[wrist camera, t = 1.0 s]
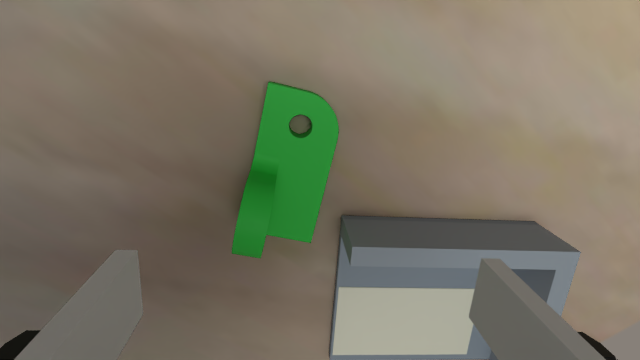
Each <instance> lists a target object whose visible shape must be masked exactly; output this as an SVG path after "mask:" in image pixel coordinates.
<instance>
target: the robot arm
mask: <svg viewBox="0 0 640 360" xmlns="http://www.w3.org/2000/svg"><path fill="white" fill-rule="evenodd" d="M142 315H143V305H142V294H141V282H140V271H139V260H138V250H115V251H114V252H113V253H112V254H111V255H110V256H109V257H108V259H107V260H106V261H105V262H104V263H103V264H102V265H101V266H100V267H99V268H98V269H97V270H96V272H95V273H94V274H93V275H92V276H91V277H90V278H89V279H88V280H87V281H86V282H85V283H84V284H83V286H82V287H81V288H80V289H79V290H78V291H77V292H76V293H75V294H74V295H73V296H72V297H71V299H70V300H69V301H68V302H67V303H66V304H65V305H64V306H63V307H62V308H61V309H60V310H59V312H58V313H57V314H56V315H55V316H54V317H53V318H52V319H51V320H50V321H49V322H48V323H47V324H46V326H45V327H44V328H43V329H42V330H41V331H29V330H26V331H25V332H23V333H21V334H20V335H18V336H17V337H15V338H13V339H12V340H10V341H9V342H7V343H5V344H4V345H3V346H2V347H1V348H0V360H117V358H118V357H119V355H120V353H121V351H122V350H123V348H124V346H125V345H126V343H127V341H128V339H129V338H130V336H131V334H132V333H133V331H134V329H135V327H136V326H137V324H138V322H139V320H140V319H141V317H142ZM469 318H470V320H471V321H472V323H473V324H474V325H475V327H476V328H477V330H478V331H479V333H480V334H481V336H482V337H483V338H484V340H485V341H486V343H487V344H488V346H489V347H490V349H491V350H492V351H493V353H494V354H495V356H496V357H497V359H498V360H616V358H615V356H614V355H613V354H612V353H611V352H609V351H608V350H607V349H606V348H605V347H604V346H603V345H602V344H601V343H599V342H597V341H596V340H594V339H593V338H591V337H589V336H588V335H586V334H585V333H583V332H576V331H575V330H574V329H573V328H572V327H571V326H570V325H569V324H568V323H567V322H566V321H565V320H564V319H563V318H562V317H561V316H559V315H558V314H557V313H556V312H555V311H554V310H553V309H552V308H551V307H550V306H549V305H548V304H547V303H546V302H545V301H544V300H543V299H542V298H541V297H540V296H538V295H537V294H536V293H535V292H534V291H533V290H532V289H531V288H530V287H529V286H528V285H527V284H526V283H525V282H524V281H523V280H522V279H521V278H520V277H519V276H517V275H516V274H515V273H514V272H513V271H512V270H511V269H510V268H509V267H508V266H507V265H506V264H505V263H504V262H503V261H502V260H501V259H491V258H481V263H480V267H479V272H478V276H477V281H476V285H475V290H474V294H473V299H472V303H471V308H470V312H469Z"/></svg>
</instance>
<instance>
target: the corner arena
mask: <svg viewBox="0 0 640 360" xmlns="http://www.w3.org/2000/svg"><path fill="white" fill-rule="evenodd" d="M580 253H581V252H580V251H578V250H577V249H575V248H574V247H572V246H571V245H569V244H568V243H566V242H565V241H563V240H562V239H560V238H559V237H557V236H556V235H554V234H553V233H551V232H550V231H548V230H546V229H545V228H543V227H542V226H540V225H539V224H537V223H536V222H534V221H505V220H472V219H440V218H408V217H376V216H344V215H342V217H341V228H340V239H339V250H338V261H337V272H336V283H335V294H334V304H333V315H332V326H331V337H330V348H329V358H330V360H422V359H489V360H498V359H497V357H496V356H495V354H494V353H493V351H492V350H491V349H490V347H489V346H488V344H487V343H486V341H485V340H484V338H483V337H482V336H481V334H480V333H479V331H478V330H477V328H476V327H475V325H474V324H473V323H472V321H471V320H470V318H469V312H470V308H471V303H472V299H473V294H474V290H475V285H476V281H477V276H478V272H479V267H480V263H481V258H491V259H501V260H502V261H503V262H504V263H505V264H506V265H507V266H508V267H509V268H510V269H511V270H512V271H513V272H514V273H515V274H516V275H517V276H519V277H520V278H521V279H522V280H523V281H524V282H525V283H526V284H527V285H528V286H529V287H530V288H531V289H532V290H533V291H534V292H535V293H536V294H537V295H538V296H540V297H541V298H542V299H543V300H544V301H545V302H546V303H547V304H548V305H549V306H550V307H551V308H552V309H553V310H554V311H555V312H556V313H557V314H558V315H559V316H561V314H562V311H563V308H564V305H565V301H566V298H567V295H568V292H569V288H570V285H571V282H572V279H573V276H574V272H575V269H576V266H577V263H578V259H579V256H580Z"/></svg>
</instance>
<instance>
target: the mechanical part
mask: <svg viewBox="0 0 640 360" xmlns="http://www.w3.org/2000/svg"><path fill="white" fill-rule="evenodd" d="M296 115H305V116H307V117H308V118H309V119H310V120H311V127H310V129H309V130H308V131H307V132H305V133H302V134H298V133H295V132H293V131H292V130H291V128H290V126H289V122H290V120H291V119H292V118H293V117H294V116H296ZM338 133H339V128H338V121H337V118H336V115H335V113H334V111H333V110H332V108H331V107H330V105H329V104H328V103H327V102H326V101H325V100H324V99H323V98H322V97H320V96H319V95H317V94H315V93H313V92H311V91H307V90H303V89H299V88H295V87H291V86H287V85H283V84H279V83H275V82H270V81H269V82H268V87H267V92H266V97H265V102H264V107H263V112H262V118H261V123H260V128H259V133H258V138H257V143H256V148H255V153H254V158H253V163H252V167H251V170H250V173H249V176H248V179H247V182H246V185H245V189H244V193H243V197H242V201H241V206H240V210H239V215H238V219H237V224H236V229H235V234H234V240H233V246H232V254H238V255H244V256H250V257H255V258H261V255H262V251H263V247H264V243H265V238H266V235H270V236H276V237H281V238H287V239H292V240H298V241H303V242H309V243H311V240H312V236H313V232H314V228H315V225H316V221H317V217H318V213H319V209H320V205H321V201H322V198H323V194H324V190H325V186H326V182H327V178H328V174H329V171H330V167H331V163H332V159H333V155H334V151H335V147H336V144H337V140H338Z"/></svg>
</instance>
